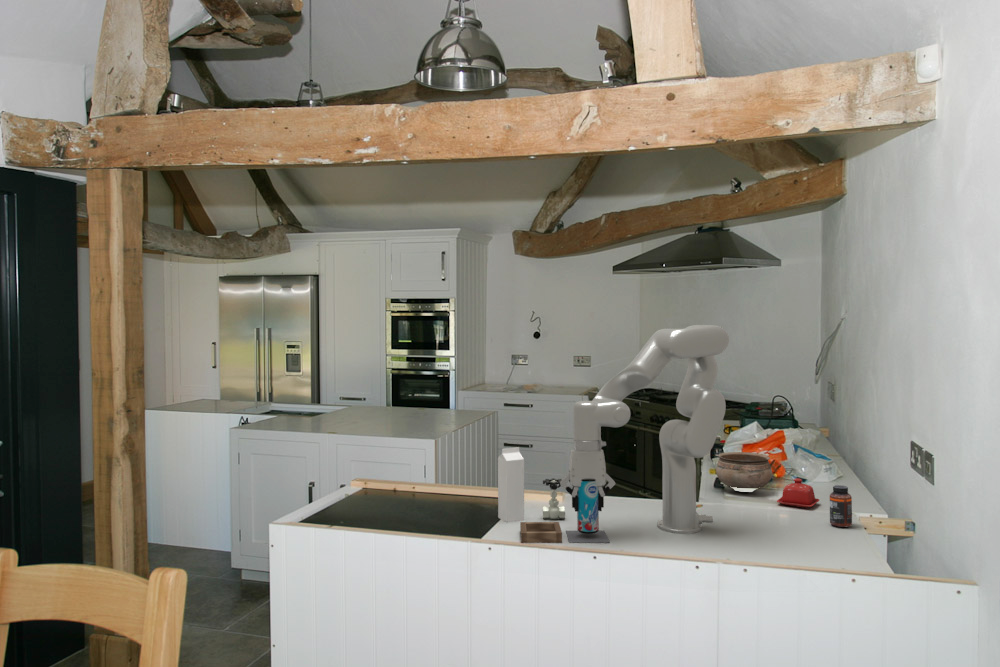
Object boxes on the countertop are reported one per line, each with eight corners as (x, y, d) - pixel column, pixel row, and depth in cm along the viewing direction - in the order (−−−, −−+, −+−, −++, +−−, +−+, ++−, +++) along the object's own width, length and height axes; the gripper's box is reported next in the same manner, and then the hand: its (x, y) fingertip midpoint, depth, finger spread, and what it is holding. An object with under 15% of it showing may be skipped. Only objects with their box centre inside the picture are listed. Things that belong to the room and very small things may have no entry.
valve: (565, 522, 218) (565, 482, 218) (543, 522, 218) (543, 482, 218) (564, 516, 224) (564, 478, 224) (542, 516, 225) (542, 478, 224)
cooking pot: (785, 498, 246) (785, 462, 246) (731, 499, 245) (731, 463, 244) (754, 482, 271) (754, 449, 271) (705, 483, 270) (705, 450, 269)
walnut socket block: (558, 532, 208) (558, 521, 208) (562, 544, 197) (561, 533, 197) (520, 532, 208) (520, 522, 208) (521, 544, 197) (521, 533, 197)
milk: (498, 519, 223) (497, 447, 222) (515, 516, 225) (514, 445, 225) (507, 523, 217) (506, 450, 217) (524, 521, 220) (524, 448, 220)
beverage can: (583, 535, 198) (583, 480, 198) (573, 529, 204) (573, 476, 204) (602, 532, 200) (602, 478, 200) (592, 527, 206) (591, 474, 206)
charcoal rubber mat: (604, 532, 208) (604, 530, 208) (610, 543, 197) (609, 542, 197) (565, 532, 208) (565, 530, 208) (569, 544, 197) (569, 542, 197)
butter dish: (774, 505, 238) (774, 479, 238) (785, 498, 247) (785, 473, 247) (811, 510, 231) (811, 483, 231) (821, 503, 240) (821, 477, 240)
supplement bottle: (851, 523, 215) (851, 485, 215) (852, 528, 210) (852, 489, 210) (829, 521, 218) (829, 483, 218) (829, 526, 212) (829, 487, 212)
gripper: (616, 443, 206) (616, 506, 206) (555, 443, 206) (555, 507, 206) (620, 447, 198) (621, 513, 198) (557, 448, 198) (557, 514, 198)
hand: (587, 509), depth 202 cm, fingers closed on beverage can, 5 cm apart
